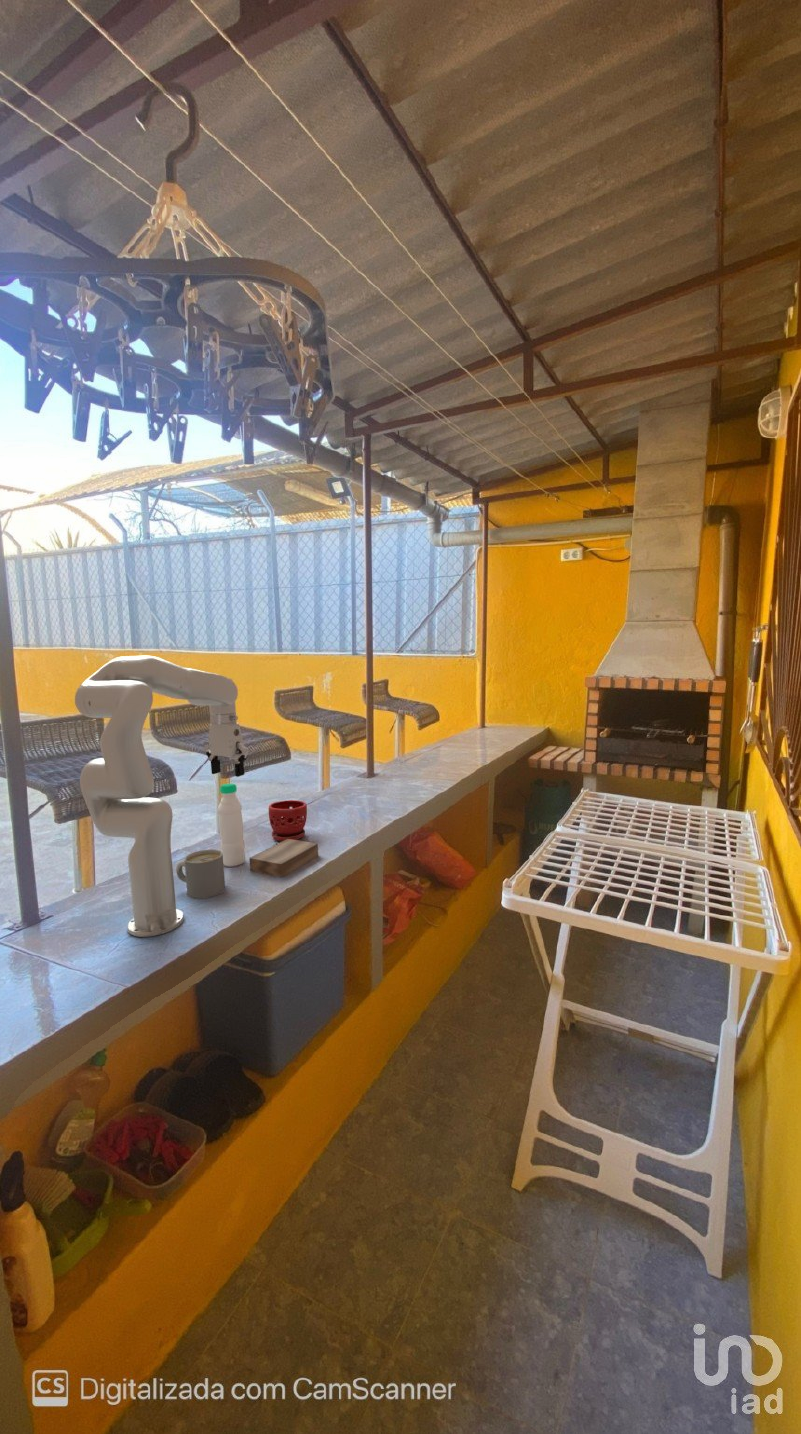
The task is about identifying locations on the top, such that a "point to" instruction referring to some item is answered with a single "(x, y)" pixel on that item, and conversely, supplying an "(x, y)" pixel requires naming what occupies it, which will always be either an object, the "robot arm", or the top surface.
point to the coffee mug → (203, 873)
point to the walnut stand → (283, 857)
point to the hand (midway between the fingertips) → (228, 774)
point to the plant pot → (288, 819)
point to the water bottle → (231, 827)
